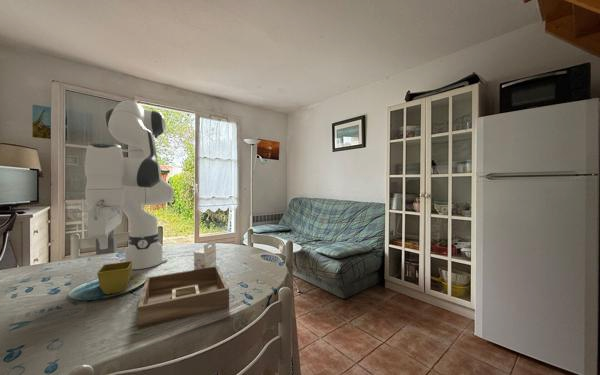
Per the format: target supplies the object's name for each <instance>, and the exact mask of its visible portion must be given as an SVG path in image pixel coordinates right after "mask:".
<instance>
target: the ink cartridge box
mask: <svg viewBox="0 0 600 375" xmlns="http://www.w3.org/2000/svg"><path fill="white" fill-rule="evenodd" d="M193 266H194V267H193V270H196V269H202V268H209V267H215V266H217V246H216V240H212V241H210V242H208V243H205V244H204V245H203V247H202V248H200V249H198V250H196V251H193Z"/></svg>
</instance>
